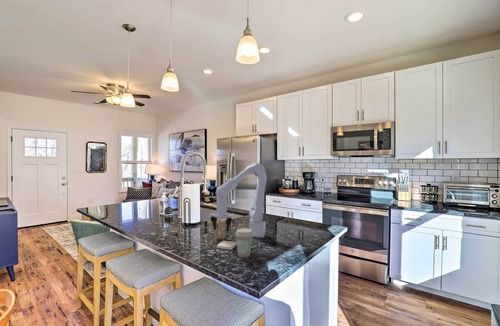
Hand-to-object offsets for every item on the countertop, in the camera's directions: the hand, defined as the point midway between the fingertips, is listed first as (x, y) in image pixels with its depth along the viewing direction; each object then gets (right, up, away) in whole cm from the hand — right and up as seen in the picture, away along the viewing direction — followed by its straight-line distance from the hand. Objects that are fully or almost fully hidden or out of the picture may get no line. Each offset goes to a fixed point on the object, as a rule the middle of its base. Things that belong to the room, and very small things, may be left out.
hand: (221, 230), depth 142 cm
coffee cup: (+14, -5, -25) cm, 29 cm away
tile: (+6, -4, -10) cm, 12 cm away
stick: (0, -4, 0) cm, 4 cm away
